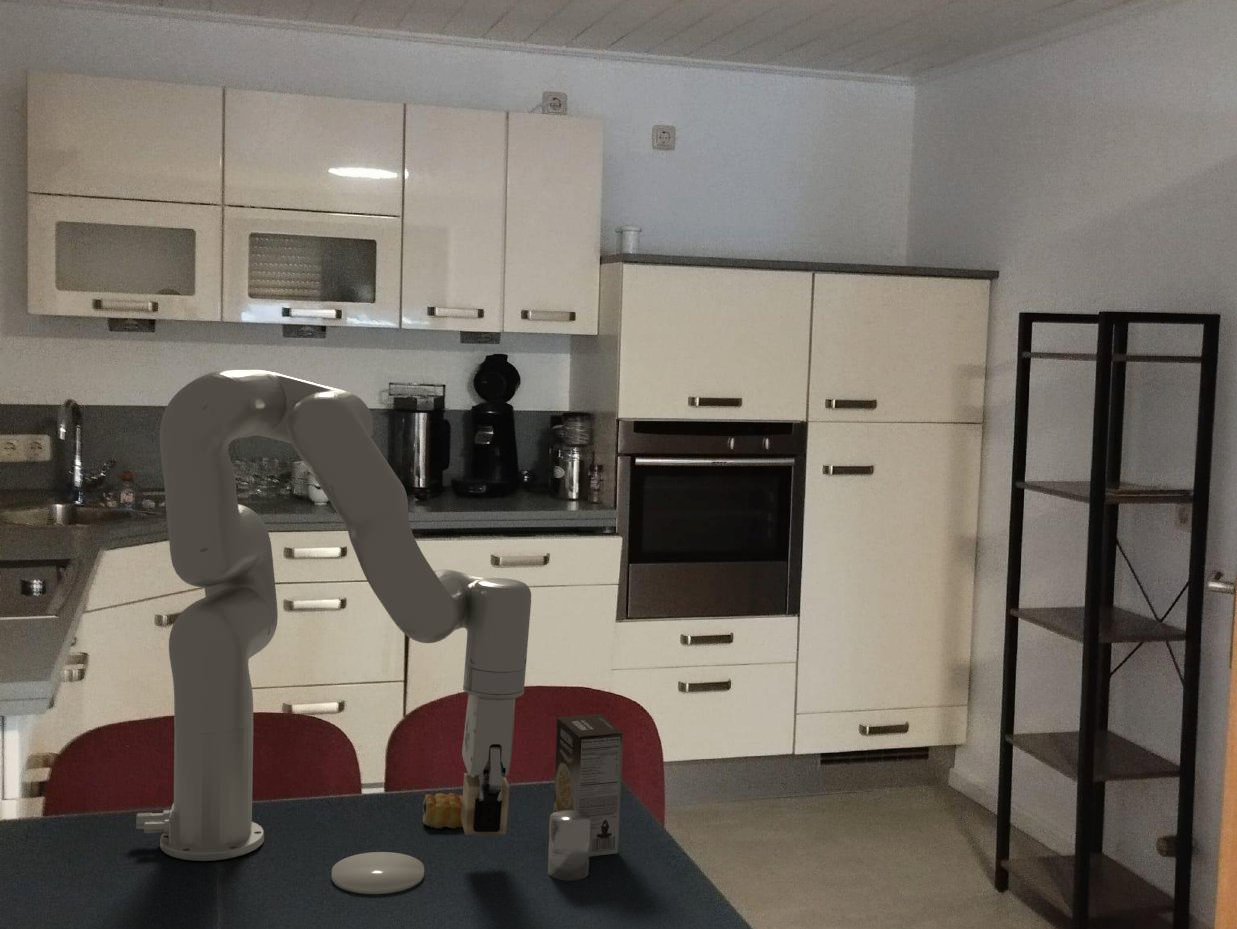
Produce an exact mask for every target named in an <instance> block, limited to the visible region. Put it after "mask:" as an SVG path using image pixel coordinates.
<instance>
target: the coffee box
mask: <svg viewBox="0 0 1237 929" xmlns="http://www.w3.org/2000/svg"><path fill="white" fill-rule="evenodd" d="M555 739H556V742H555V761H554V762H555V764H554V765H555V766H554V767H555V769H554V770H555V771H554V791H553V792H554V795H553V800H554V801H553V813H554V812H558V811H563V810H574V811H580V812H584V813H586V814H588V815H589V816H590V844H589V858H591V857H597V856H598V857H599V856H607V855H616V854H618V853H619V836H620V835H619V830H620V812H621V811H620V810H621V809H620V808H621V791H622V790H621V789H622V788H621V785H622V768H623V766H622V765H623V750H624V749H623V744H624V732H623V731H621V729H619V728H618V727H616V726H615V725H614V724H613V723H612V722H611V721H610V720H608V719H607V718H606V717H605V716H604V715H603V714H601V713H593V714H583V715H579V714H578V715H569V716H559V717H557V718H556V738H555Z"/></svg>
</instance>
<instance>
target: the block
mask: <svg viewBox="0 0 1237 929" xmlns="http://www.w3.org/2000/svg"><path fill="white" fill-rule="evenodd" d="M483 774H489V773H483ZM488 782H489V780H484V786H485V785H486V784H489V783H488ZM478 787H479V775H475V777H471V776H470V775H469V773H468V772H465V773H463V785H462V795H463V797H462V810H461V822H462V825H463V827H462V828H463V832H464V834H465V835H506V834H507V824H508V813H509V812H508V810H509V800H510V798H509V797H510V785H509V782H508V780H507V778H506V777H505V778H504V777H503V776H502V808H501V821H500V830H499V831H498V832H475V831H474V829H473V825H474V812H475V799H478Z"/></svg>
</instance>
